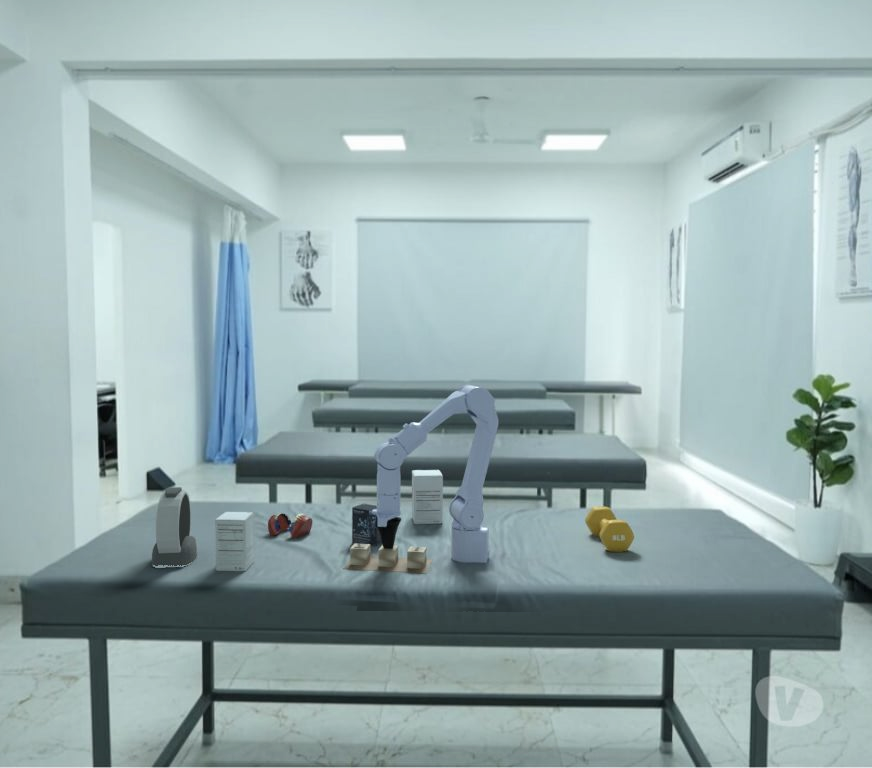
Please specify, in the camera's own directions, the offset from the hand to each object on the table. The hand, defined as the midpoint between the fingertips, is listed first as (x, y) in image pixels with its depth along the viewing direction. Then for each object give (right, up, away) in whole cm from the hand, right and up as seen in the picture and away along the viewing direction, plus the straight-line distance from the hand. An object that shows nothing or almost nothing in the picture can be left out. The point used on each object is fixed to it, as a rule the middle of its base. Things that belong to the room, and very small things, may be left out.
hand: (388, 548), depth 164 cm
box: (-6, -4, +18) cm, 20 cm away
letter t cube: (-7, -4, +1) cm, 8 cm away
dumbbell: (+59, -4, +23) cm, 64 cm away
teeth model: (-30, -3, +29) cm, 42 cm away
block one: (+7, -4, -1) cm, 8 cm away
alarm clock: (-54, -4, +5) cm, 54 cm away
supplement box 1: (-37, -5, +1) cm, 38 cm away
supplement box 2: (+9, -2, +44) cm, 45 cm away
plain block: (0, -4, 0) cm, 4 cm away
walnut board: (0, -5, 0) cm, 5 cm away
